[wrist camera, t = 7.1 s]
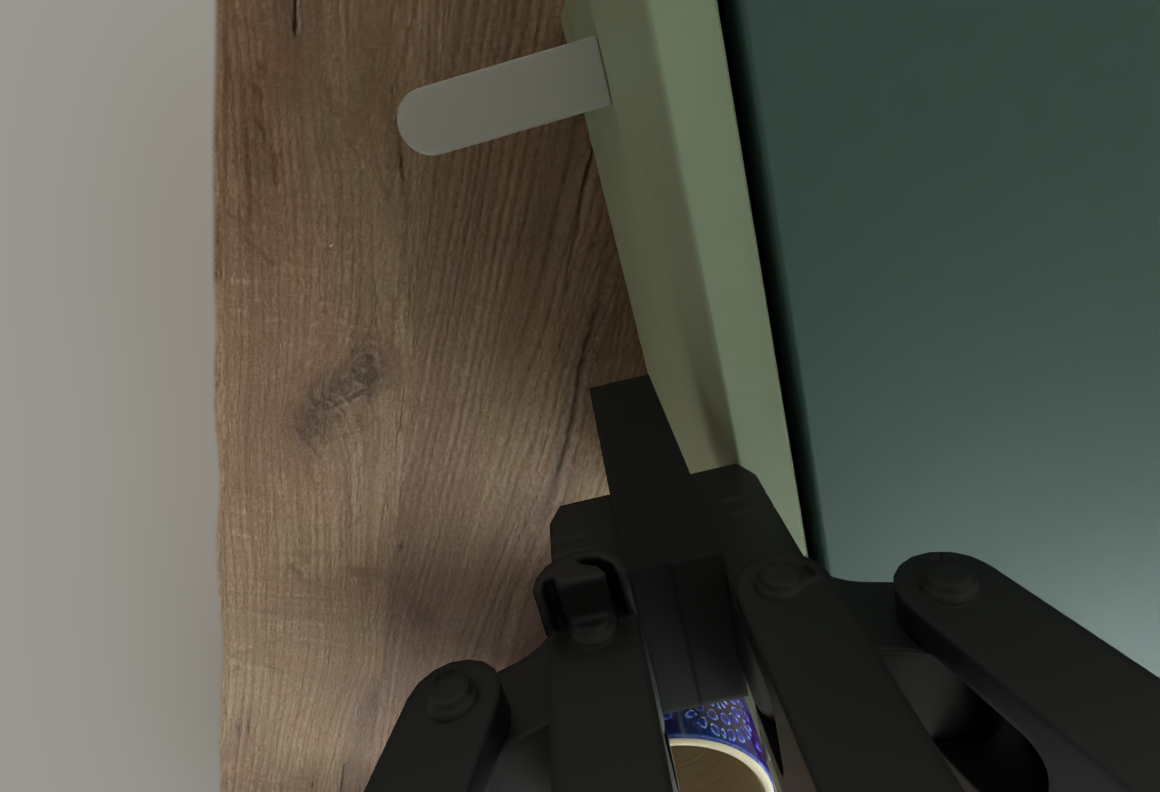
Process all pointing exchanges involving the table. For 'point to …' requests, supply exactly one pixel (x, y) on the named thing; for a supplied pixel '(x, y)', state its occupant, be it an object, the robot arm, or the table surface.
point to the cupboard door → (655, 212)
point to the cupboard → (966, 285)
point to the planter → (718, 749)
